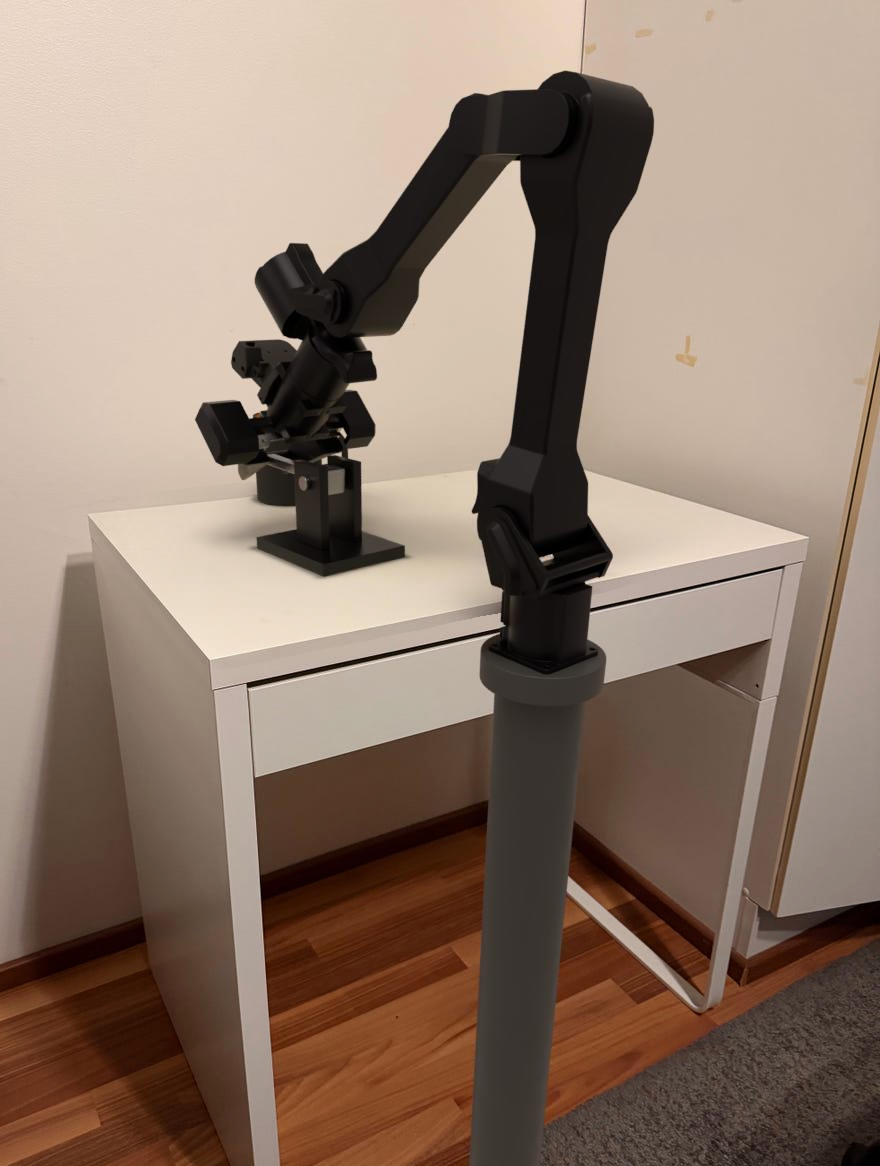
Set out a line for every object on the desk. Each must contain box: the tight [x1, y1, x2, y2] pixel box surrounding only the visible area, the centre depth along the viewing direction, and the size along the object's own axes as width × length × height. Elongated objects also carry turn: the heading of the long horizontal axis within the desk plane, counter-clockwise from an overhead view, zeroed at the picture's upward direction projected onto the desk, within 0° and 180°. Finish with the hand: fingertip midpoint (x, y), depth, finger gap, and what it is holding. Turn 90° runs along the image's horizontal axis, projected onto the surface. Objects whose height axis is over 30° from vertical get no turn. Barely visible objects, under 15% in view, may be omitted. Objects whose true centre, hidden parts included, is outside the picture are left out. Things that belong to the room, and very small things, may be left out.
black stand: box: [255, 454, 406, 577], centre depth 87 cm, size 12×10×9 cm
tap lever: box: [267, 450, 345, 495], centre depth 89 cm, size 13×5×2 cm, turn 40°
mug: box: [252, 411, 349, 507], centre depth 108 cm, size 8×12×10 cm
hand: (262, 473), depth 95 cm, fingers closed on tap lever, 5 cm apart
